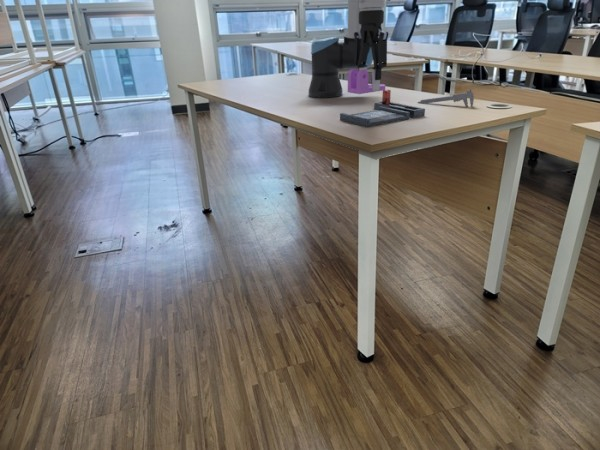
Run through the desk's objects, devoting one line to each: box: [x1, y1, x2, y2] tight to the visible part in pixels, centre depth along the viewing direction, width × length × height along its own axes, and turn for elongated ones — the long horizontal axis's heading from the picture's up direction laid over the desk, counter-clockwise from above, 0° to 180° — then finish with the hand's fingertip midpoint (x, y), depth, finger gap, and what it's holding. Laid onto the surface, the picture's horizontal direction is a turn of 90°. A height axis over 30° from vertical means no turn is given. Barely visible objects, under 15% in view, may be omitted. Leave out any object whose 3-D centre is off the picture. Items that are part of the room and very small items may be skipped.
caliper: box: [417, 88, 475, 107], centre depth 157 cm, size 20×1×6 cm, turn 56°
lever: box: [381, 89, 405, 108], centre depth 149 cm, size 10×3×6 cm, turn 31°
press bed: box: [339, 106, 410, 128], centre depth 140 cm, size 14×18×2 cm
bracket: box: [347, 69, 386, 95], centre depth 135 cm, size 13×6×7 cm, turn 125°
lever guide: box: [373, 101, 426, 119], centre depth 148 cm, size 20×5×2 cm, turn 31°
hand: (369, 89), depth 137 cm, fingers closed on bracket, 6 cm apart
